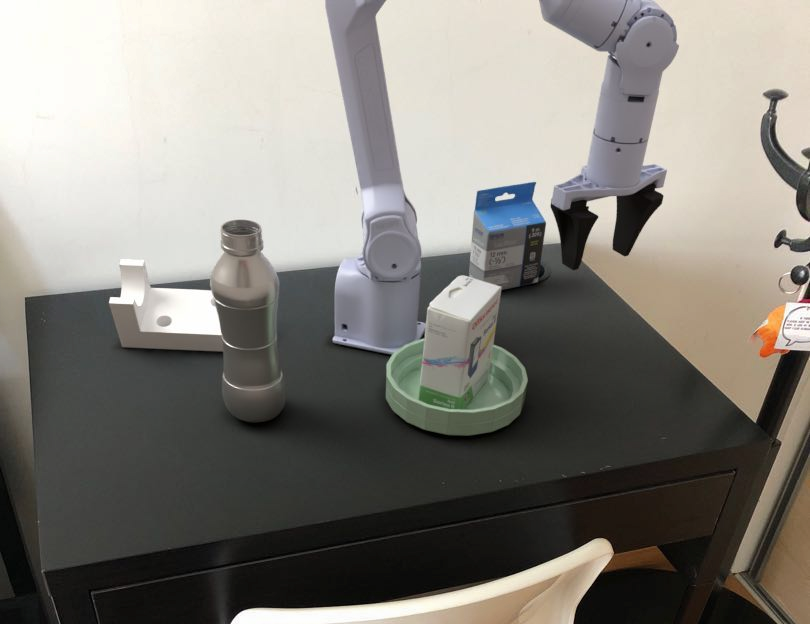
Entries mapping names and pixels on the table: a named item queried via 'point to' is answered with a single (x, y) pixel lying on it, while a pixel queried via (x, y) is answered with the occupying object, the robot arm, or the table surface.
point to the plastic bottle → (248, 324)
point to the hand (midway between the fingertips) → (595, 259)
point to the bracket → (163, 314)
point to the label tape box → (507, 237)
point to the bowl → (481, 415)
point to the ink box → (458, 342)
